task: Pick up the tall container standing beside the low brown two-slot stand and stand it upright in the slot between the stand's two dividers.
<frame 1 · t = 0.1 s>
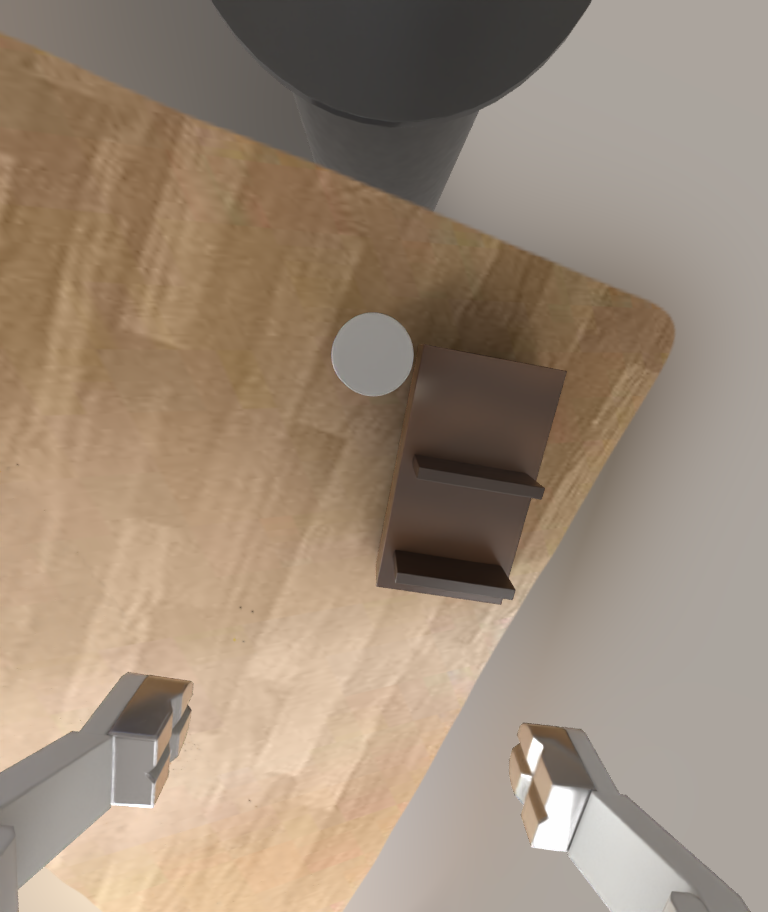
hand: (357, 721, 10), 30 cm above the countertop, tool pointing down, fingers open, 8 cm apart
container: (359, 357, 37), on the countertop
brown two-slot stand: (456, 472, 40), on the countertop
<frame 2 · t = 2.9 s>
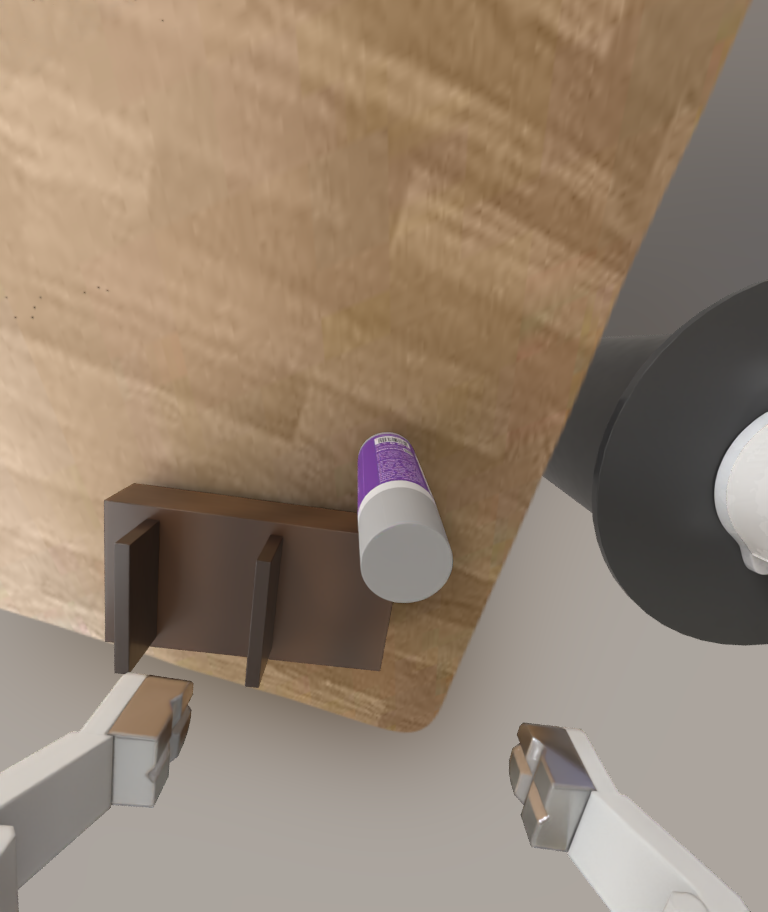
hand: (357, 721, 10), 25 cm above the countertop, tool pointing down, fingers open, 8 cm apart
container: (386, 458, 34), on the countertop
brown two-slot stand: (264, 565, 36), on the countertop
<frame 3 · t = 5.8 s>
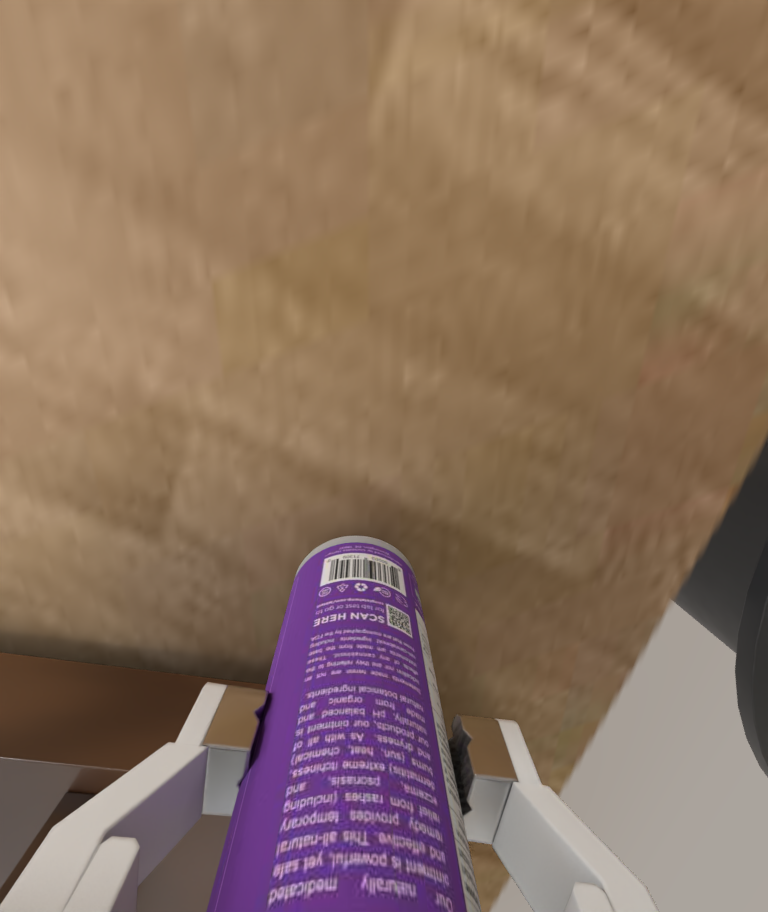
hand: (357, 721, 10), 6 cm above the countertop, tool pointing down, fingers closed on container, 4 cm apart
container: (355, 585, 16), on the countertop, touching gripper
brown two-slot stand: (107, 781, 18), on the countertop
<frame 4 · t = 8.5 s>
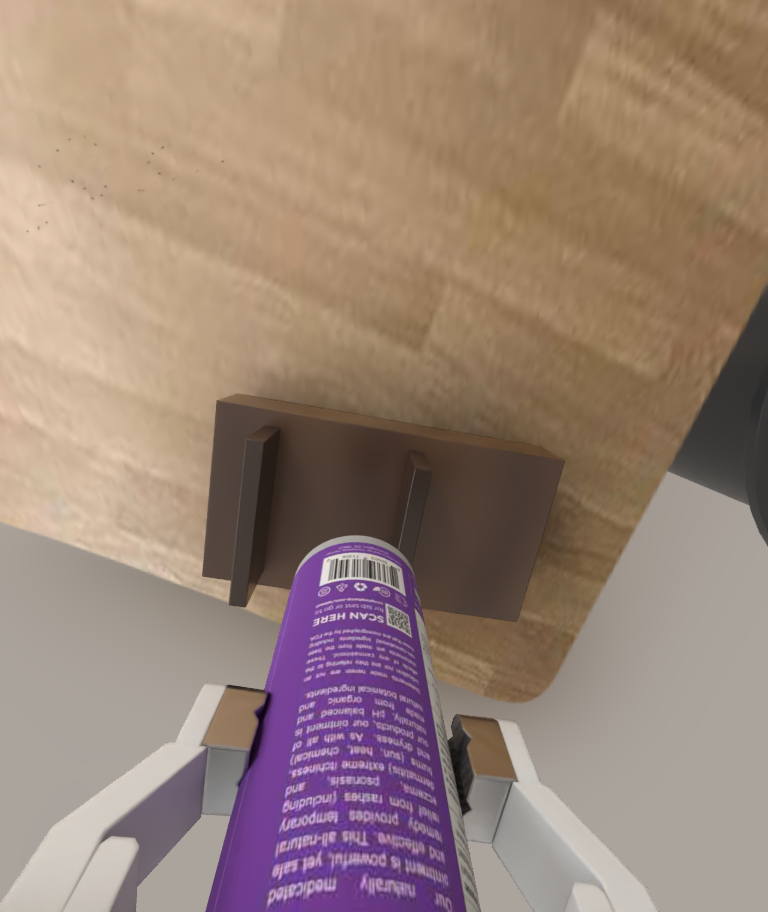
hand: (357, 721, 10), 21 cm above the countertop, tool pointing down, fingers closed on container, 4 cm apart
container: (355, 585, 16), point 15 cm above the countertop, touching gripper
brown two-slot stand: (378, 499, 31), on the countertop
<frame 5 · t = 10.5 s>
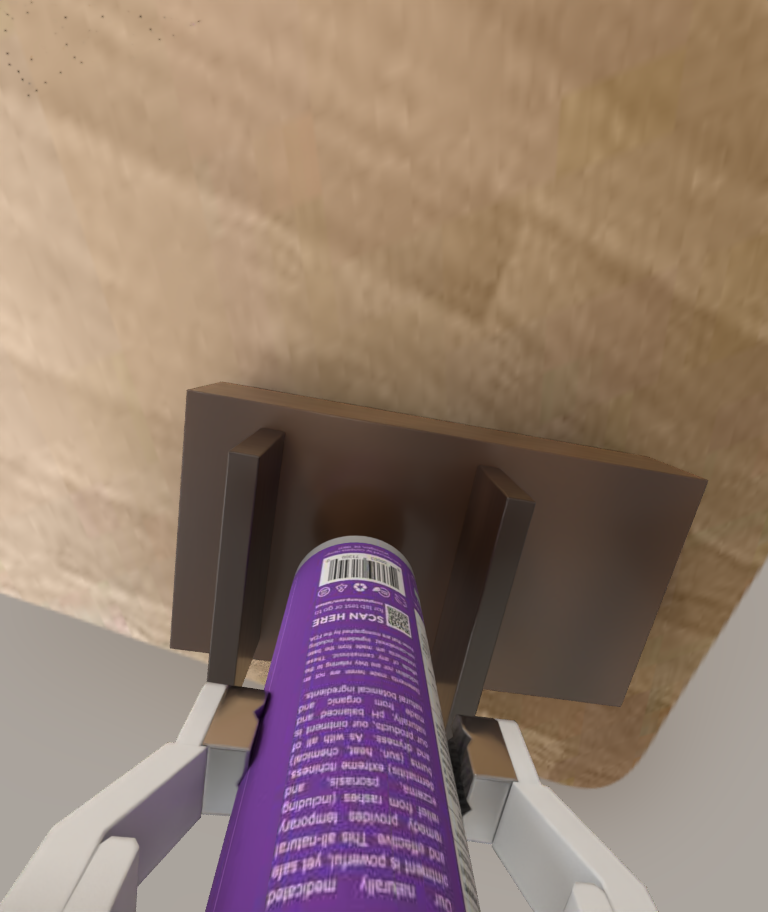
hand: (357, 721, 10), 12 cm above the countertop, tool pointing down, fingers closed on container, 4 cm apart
container: (354, 585, 16), point 6 cm above the countertop, touching gripper
brown two-slot stand: (419, 529, 22), on the countertop
when the fingers open (10 cm above the countertop, at t = 11.7 s): container stays where it is, resting on brown two-slot stand.
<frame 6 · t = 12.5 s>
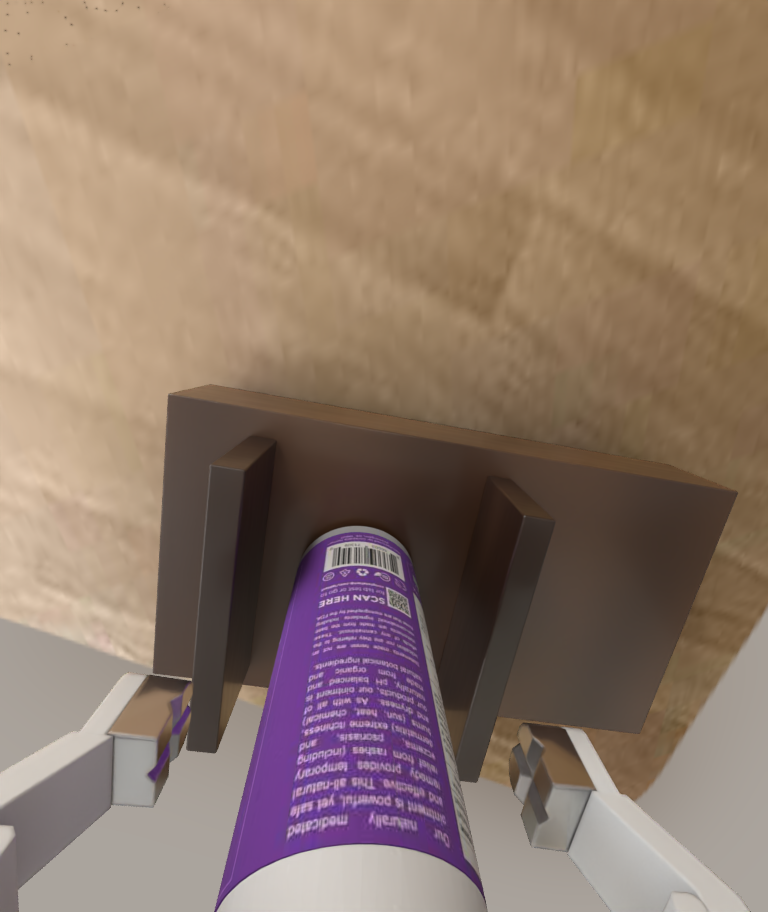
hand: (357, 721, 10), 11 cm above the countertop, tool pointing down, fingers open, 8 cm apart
container: (356, 574, 17), point 4 cm above the countertop, touching brown two-slot stand
brown two-slot stand: (422, 542, 21), on the countertop
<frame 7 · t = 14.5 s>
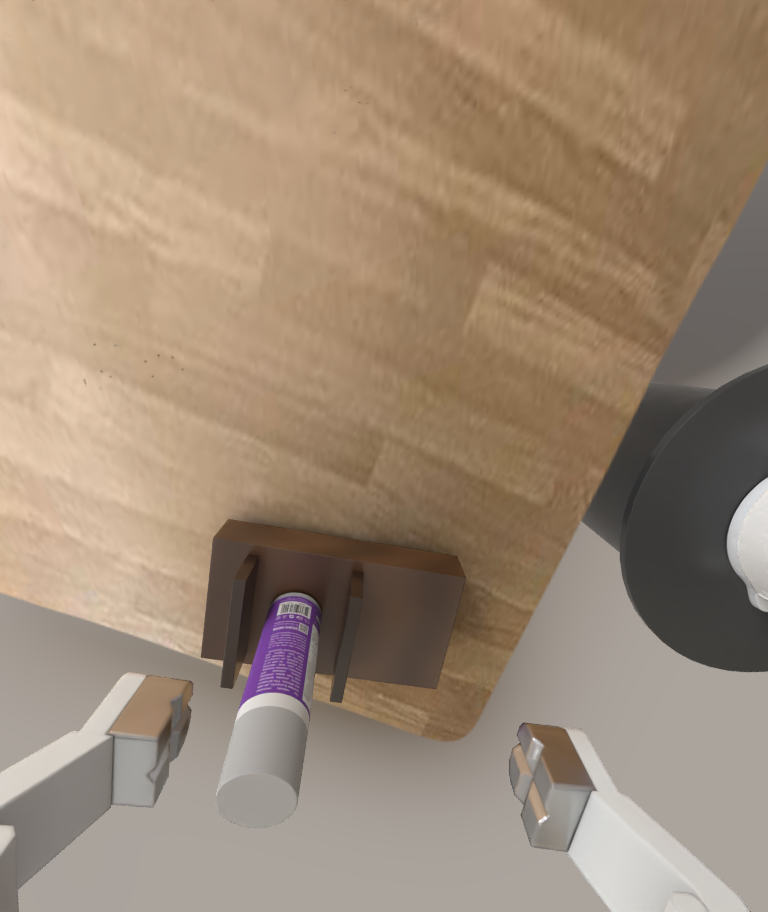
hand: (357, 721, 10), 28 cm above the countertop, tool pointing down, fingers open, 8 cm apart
container: (295, 612, 37), point 4 cm above the countertop, touching brown two-slot stand
brown two-slot stand: (335, 593, 41), on the countertop
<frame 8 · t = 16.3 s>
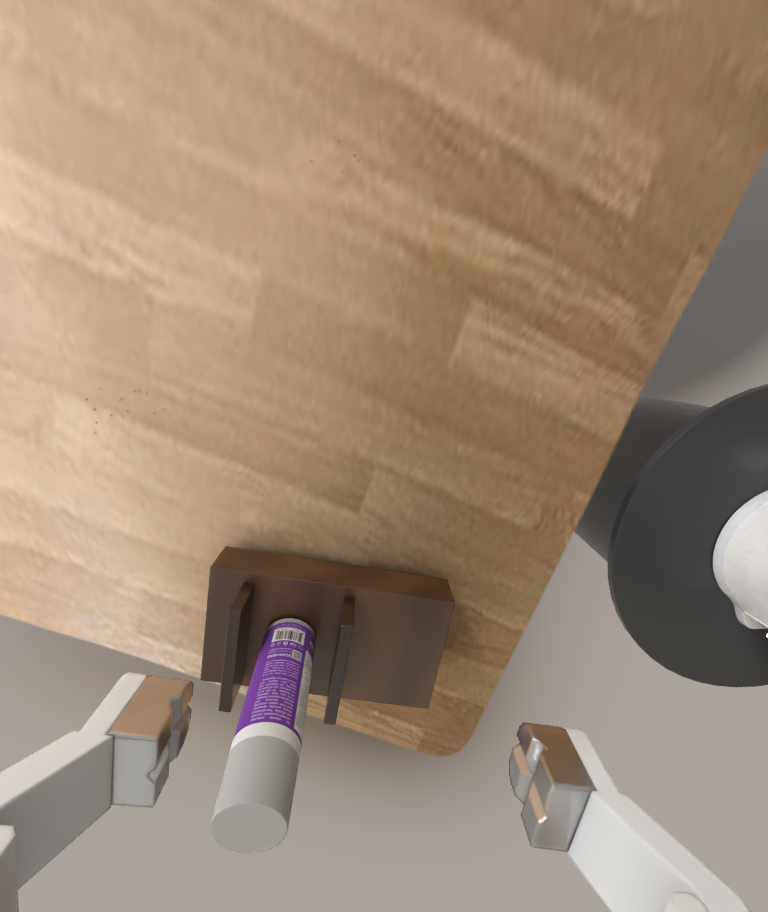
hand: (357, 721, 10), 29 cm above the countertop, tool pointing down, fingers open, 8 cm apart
container: (290, 637, 39), point 4 cm above the countertop, touching brown two-slot stand
brown two-slot stand: (329, 615, 43), on the countertop
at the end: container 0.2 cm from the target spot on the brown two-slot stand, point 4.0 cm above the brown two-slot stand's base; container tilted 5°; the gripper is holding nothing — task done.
